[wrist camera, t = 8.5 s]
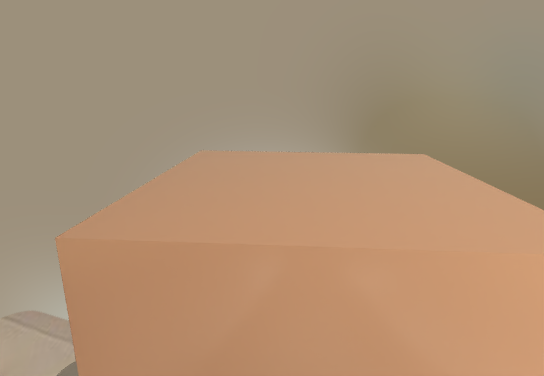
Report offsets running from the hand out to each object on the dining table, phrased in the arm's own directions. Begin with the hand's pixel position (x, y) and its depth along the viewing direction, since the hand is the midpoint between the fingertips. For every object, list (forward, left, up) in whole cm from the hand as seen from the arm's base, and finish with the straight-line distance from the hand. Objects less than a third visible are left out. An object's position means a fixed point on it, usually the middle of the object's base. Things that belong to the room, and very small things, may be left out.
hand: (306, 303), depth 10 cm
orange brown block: (+1, -2, -6) cm, 6 cm away
